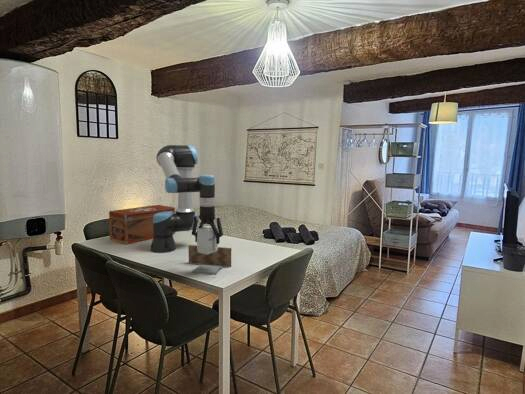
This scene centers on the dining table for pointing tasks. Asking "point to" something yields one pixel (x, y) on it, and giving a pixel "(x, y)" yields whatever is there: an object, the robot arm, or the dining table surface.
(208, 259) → the walnut screen
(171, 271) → the dining table surface
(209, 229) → the supplement box
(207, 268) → the mat
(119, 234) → the wooden box
